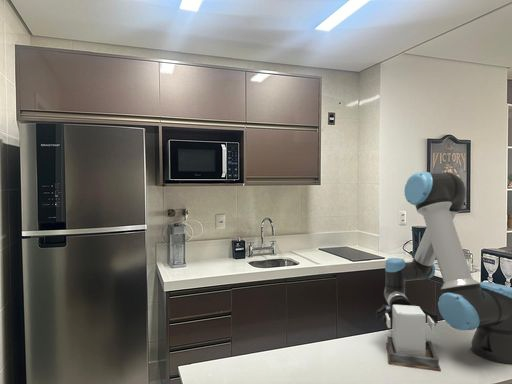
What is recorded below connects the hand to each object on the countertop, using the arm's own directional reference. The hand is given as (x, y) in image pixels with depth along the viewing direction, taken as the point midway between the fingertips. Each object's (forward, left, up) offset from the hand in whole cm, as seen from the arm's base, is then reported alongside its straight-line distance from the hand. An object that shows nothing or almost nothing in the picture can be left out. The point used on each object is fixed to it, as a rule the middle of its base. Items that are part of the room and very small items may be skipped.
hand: (411, 325), depth 117 cm
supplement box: (+1, -1, -10) cm, 10 cm away
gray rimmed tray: (0, -1, -11) cm, 11 cm away
